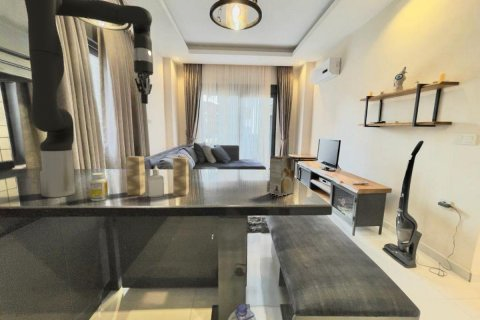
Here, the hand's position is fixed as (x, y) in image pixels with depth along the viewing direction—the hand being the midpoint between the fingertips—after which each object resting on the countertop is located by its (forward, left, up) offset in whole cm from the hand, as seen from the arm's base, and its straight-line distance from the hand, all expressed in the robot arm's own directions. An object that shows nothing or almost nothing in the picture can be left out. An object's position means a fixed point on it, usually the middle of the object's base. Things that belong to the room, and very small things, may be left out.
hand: (144, 103), depth 96 cm
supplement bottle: (-10, -19, -37) cm, 43 cm away
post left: (0, -11, -37) cm, 39 cm away
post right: (+18, -11, -37) cm, 43 cm away
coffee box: (+60, -8, -37) cm, 71 cm away
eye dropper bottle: (+9, -14, -37) cm, 41 cm away
